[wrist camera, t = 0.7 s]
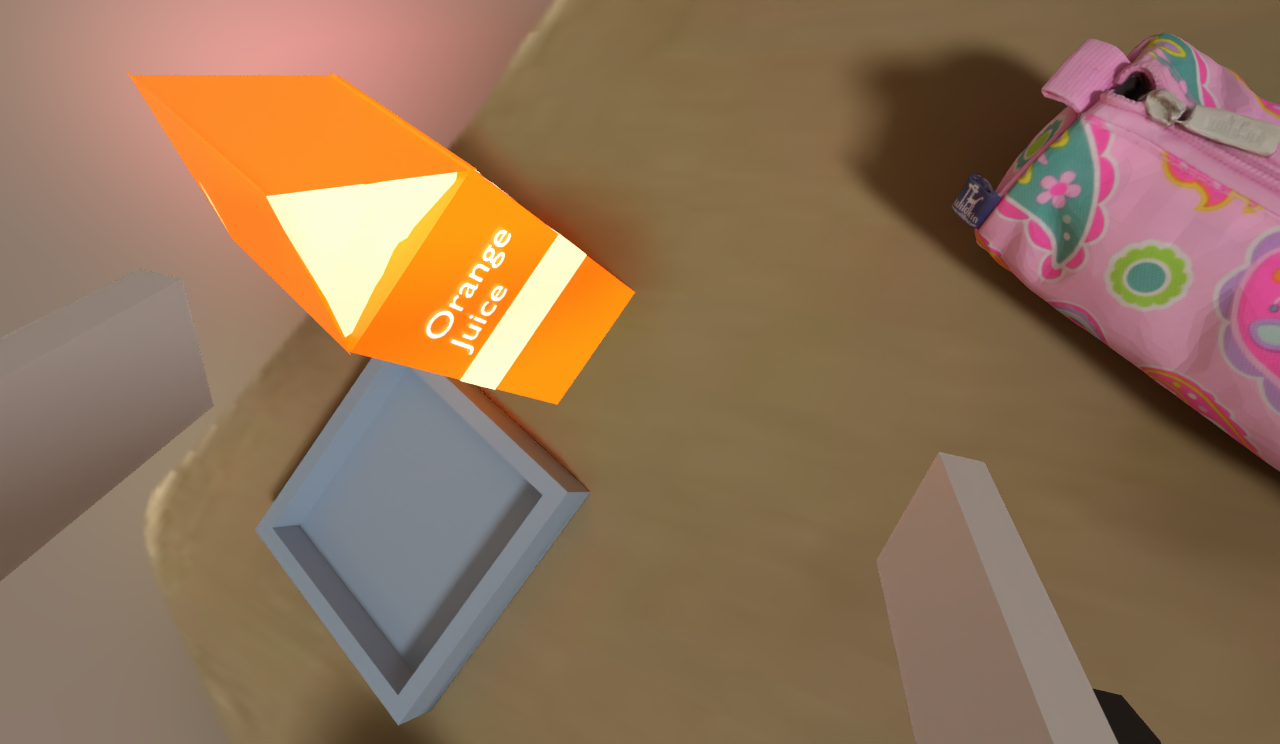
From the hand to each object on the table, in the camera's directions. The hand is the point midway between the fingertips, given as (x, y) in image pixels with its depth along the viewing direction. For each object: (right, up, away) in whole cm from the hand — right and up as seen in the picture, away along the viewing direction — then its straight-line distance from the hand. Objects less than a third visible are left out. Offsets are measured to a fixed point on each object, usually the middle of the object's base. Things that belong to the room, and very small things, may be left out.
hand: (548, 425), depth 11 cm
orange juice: (-4, +5, +25) cm, 26 cm away
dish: (-11, -7, +26) cm, 29 cm away
